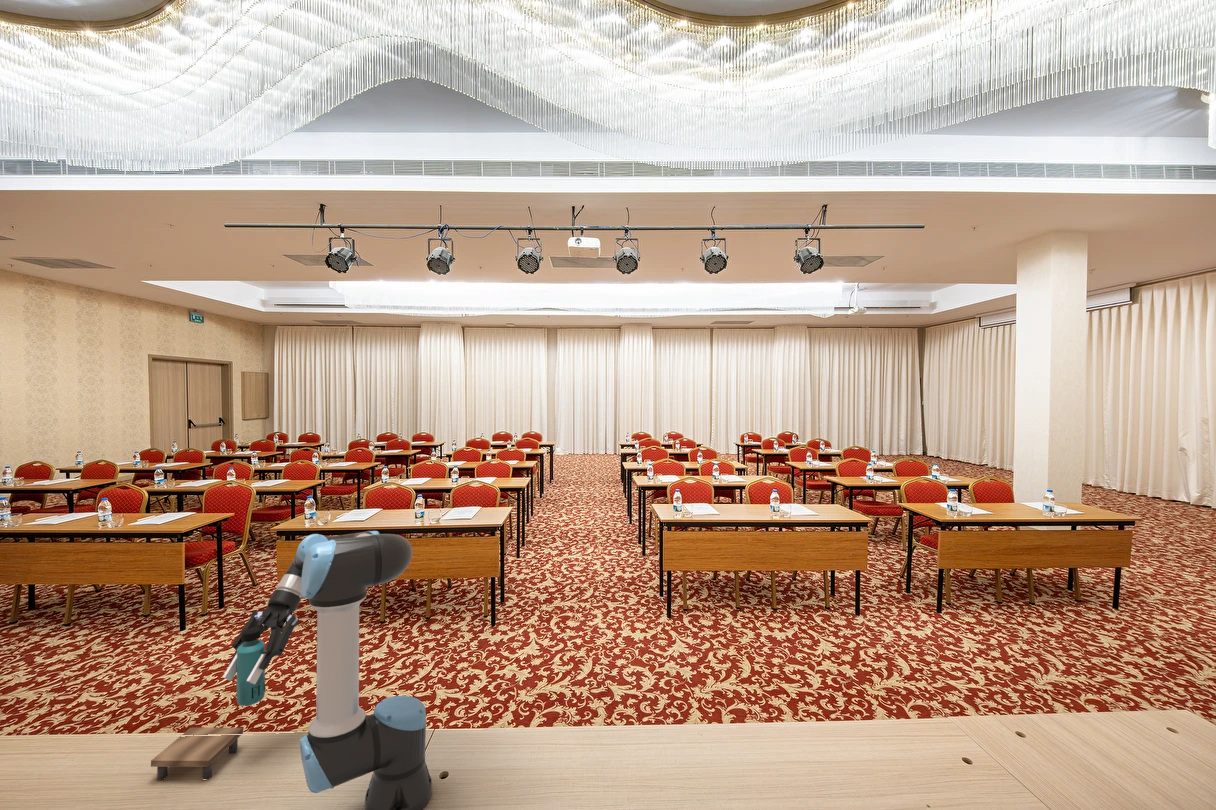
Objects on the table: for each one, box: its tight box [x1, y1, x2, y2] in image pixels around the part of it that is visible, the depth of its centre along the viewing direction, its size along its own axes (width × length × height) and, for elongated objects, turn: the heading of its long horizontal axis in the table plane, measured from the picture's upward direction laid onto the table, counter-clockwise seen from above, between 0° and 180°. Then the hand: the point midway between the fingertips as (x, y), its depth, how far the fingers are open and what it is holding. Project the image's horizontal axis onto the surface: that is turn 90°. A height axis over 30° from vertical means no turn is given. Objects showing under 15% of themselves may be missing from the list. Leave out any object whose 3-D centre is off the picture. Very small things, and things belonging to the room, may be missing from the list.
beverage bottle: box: [235, 628, 267, 707], centre depth 138 cm, size 6×7×20 cm
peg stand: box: [150, 727, 244, 781], centre depth 137 cm, size 14×13×6 cm
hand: (238, 680), depth 135 cm, fingers closed on beverage bottle, 6 cm apart
